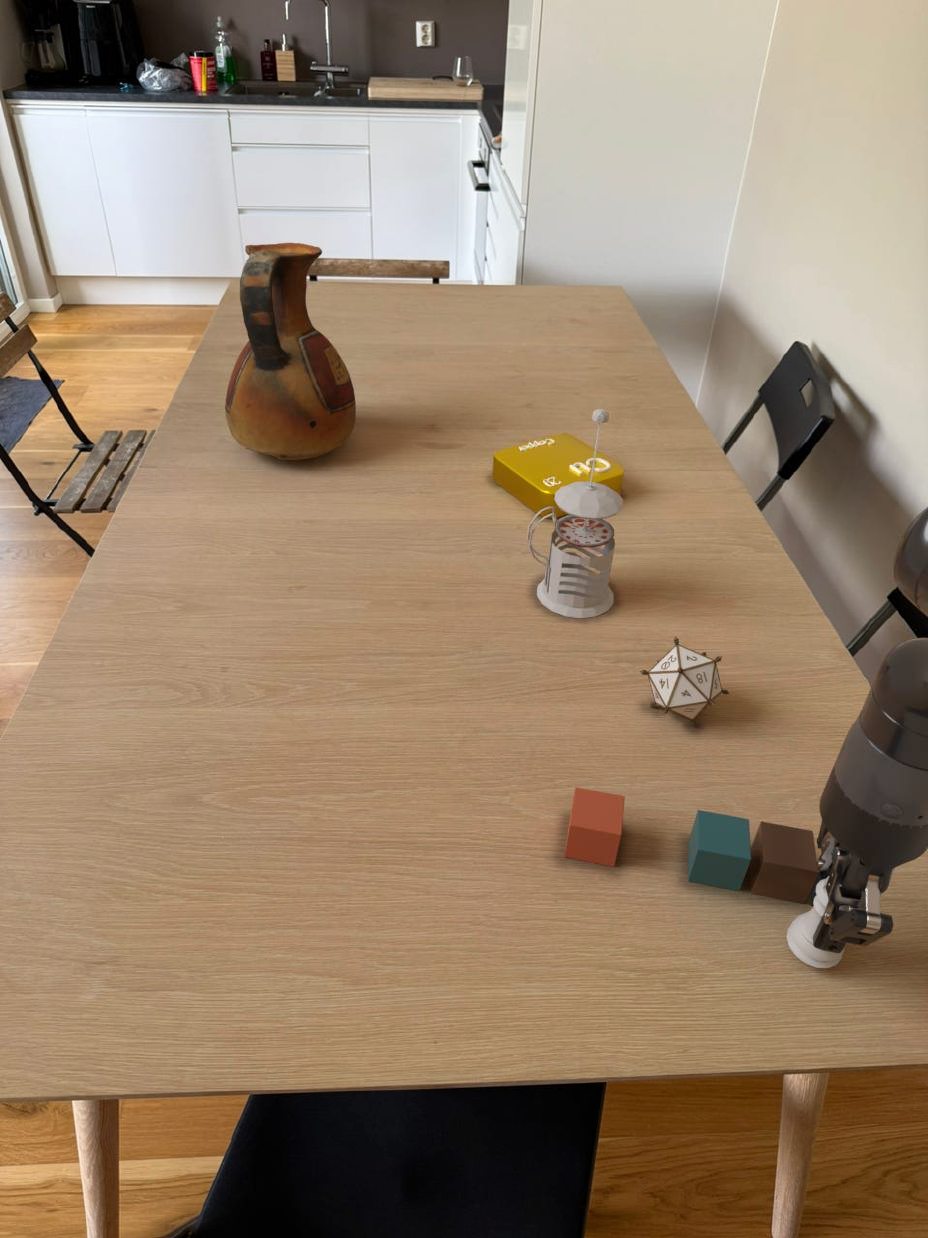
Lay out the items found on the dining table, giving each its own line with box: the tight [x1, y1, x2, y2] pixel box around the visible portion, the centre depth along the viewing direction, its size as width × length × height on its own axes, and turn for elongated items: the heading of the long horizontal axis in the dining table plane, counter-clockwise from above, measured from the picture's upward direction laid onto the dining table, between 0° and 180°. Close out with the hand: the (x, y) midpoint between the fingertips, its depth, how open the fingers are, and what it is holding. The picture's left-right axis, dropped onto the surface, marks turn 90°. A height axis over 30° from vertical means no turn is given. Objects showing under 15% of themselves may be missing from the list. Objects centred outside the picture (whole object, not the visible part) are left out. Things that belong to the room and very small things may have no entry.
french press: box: [526, 408, 624, 619], centre depth 104 cm, size 10×12×25 cm
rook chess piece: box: [785, 876, 848, 969], centre depth 71 cm, size 4×4×8 cm
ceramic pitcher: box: [224, 242, 357, 461], centre depth 132 cm, size 20×20×30 cm
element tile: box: [491, 432, 625, 519], centre depth 132 cm, size 15×15×5 cm
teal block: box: [687, 809, 752, 892], centre depth 79 cm, size 4×4×4 cm
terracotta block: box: [564, 787, 626, 868], centre depth 80 cm, size 4×4×4 cm
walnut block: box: [749, 821, 819, 904], centre depth 78 cm, size 4×4×4 cm
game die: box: [639, 636, 731, 729], centre depth 94 cm, size 9×8×10 cm
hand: (823, 924), depth 71 cm, fingers closed on rook chess piece, 3 cm apart
